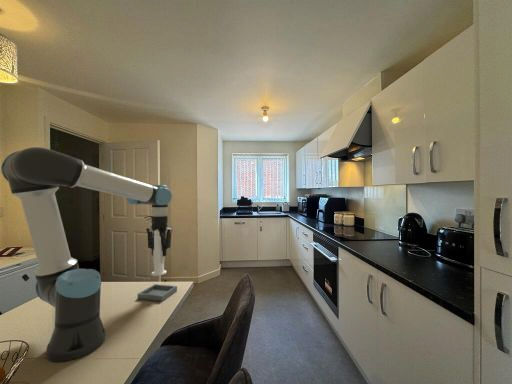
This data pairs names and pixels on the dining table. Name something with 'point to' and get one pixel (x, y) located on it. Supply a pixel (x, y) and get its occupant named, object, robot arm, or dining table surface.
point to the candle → (158, 256)
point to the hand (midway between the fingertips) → (158, 262)
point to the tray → (157, 292)
